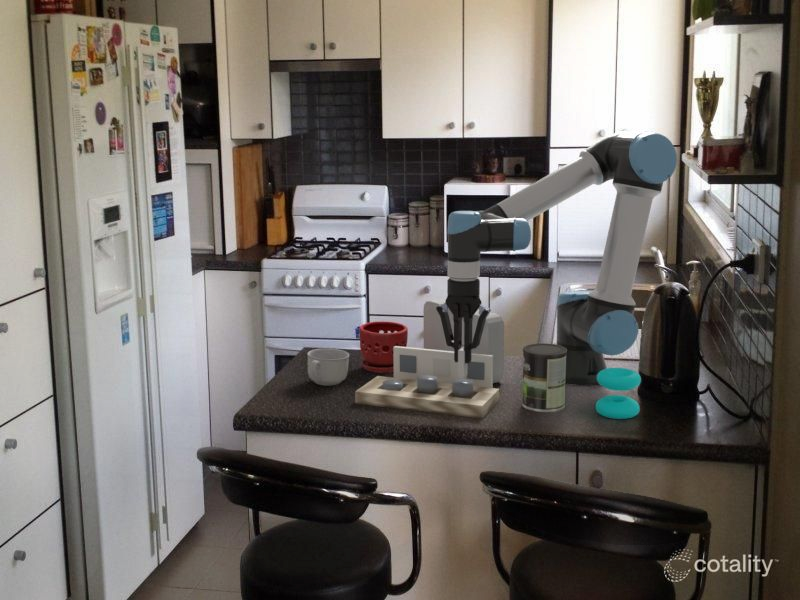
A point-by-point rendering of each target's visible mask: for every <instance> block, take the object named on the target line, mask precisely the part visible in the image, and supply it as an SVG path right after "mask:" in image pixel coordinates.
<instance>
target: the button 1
mask: <svg viewBox="0 0 800 600" xmlns="http://www.w3.org/2000/svg"><path fill="white" fill-rule="evenodd" d="M383 389H386V390H395V391H401V390H402V389H403V382H402V381H400V380H386V381H384V382H383Z"/></svg>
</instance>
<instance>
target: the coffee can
mask: <svg viewBox="0 0 800 600" xmlns="http://www.w3.org/2000/svg"><path fill="white" fill-rule="evenodd" d="M522 352H523V353H522V355H523V358H522V361H523V363H522V403H521V405H522V407H523V408H524V409H526V410H528V411H531V412H535V413H536V412H537V413H555V412H560V411H563V409H565V406H566V404H565V402H566V401H565V399H566V384H565V376H566V353H567V349H566V348H565V347H563V346H560V345H557V344H554V343H543V342H542V343H531V344H527V345H525V346H523V348H522Z"/></svg>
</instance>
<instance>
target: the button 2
mask: <svg viewBox="0 0 800 600" xmlns="http://www.w3.org/2000/svg"><path fill="white" fill-rule="evenodd" d="M452 394H453V395H454V396H456V397H470V396H472V395H473V381H472V380H469V379H457V380H454V381H452Z"/></svg>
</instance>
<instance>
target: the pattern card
mask: <svg viewBox="0 0 800 600" xmlns="http://www.w3.org/2000/svg"><path fill="white" fill-rule="evenodd" d="M393 352H394V372H393V378H402V379H411V380H417V377H419V376H423V375H431V376H436V377H437V378H438V382H440V383H449V384H452V381H454V380H457V379H469V380H472V381H473V386H477V387H487V388H494V386H493V384H494V383H493V355H486V354H475V353H471V362H470V363H467V375H466V376H465V377H458V362H455V361H454V351H443V350H433V349H424V348H420V347H410V346H406V347H401V346H394V347H393Z"/></svg>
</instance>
